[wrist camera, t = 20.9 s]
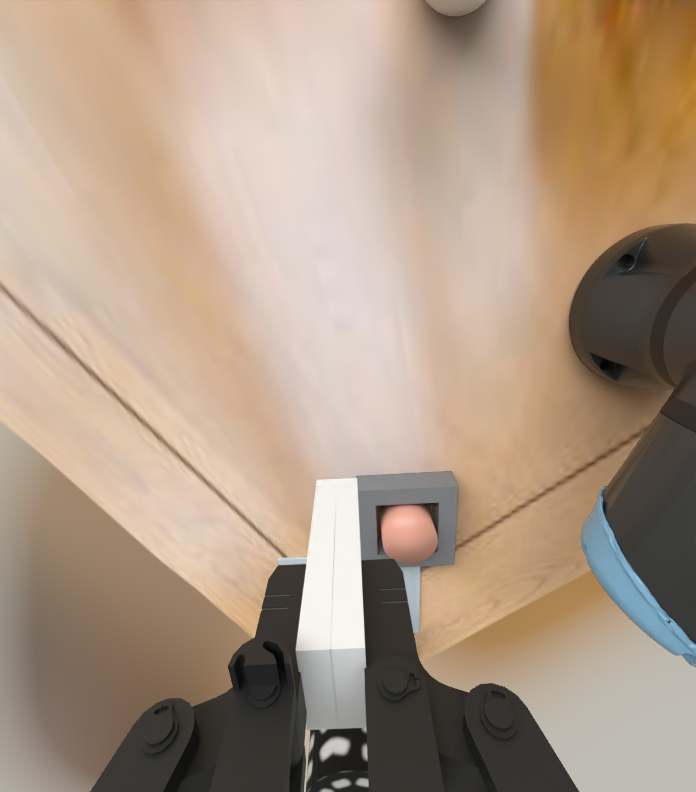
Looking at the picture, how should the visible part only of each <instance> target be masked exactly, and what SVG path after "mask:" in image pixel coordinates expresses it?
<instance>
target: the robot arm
mask: <svg viewBox="0 0 696 792" xmlns="http://www.w3.org/2000/svg"><path fill="white" fill-rule="evenodd" d="M569 327H570V336H571V341H572V344H573V347H574V349H575V351H576V353H577V355H578V357H579V358H580V360H581V361H582V362H583V363H584V364H585V365H586V366H587V367H588V368H589V369H590V370H592V371H593V372H595V373H596V374H598V375H600V376H602V377H604V378H606V379H608V380H610V381H612V382H614V383H617V384H620V385H624V386H628V387H635V388H651V389H670V390H674V391H673V392H672V394H671V396H670V397H669V399H668V400H667V402H666V403H665V405H664V406H663V407H662V409H661V410H660V411H659V413H658V414H657V416H656V417H655V419H654V420H653V421H652V423H651V424H650V426H649V427H648V429H647V430H646V432H645V433H644V434H643V436H642V437H641V439H640V440H639V442H638V443H637V444H636V446H635V447H634V449H633V450H632V452H631V453H630V455H629V456H628V457H627V459H626V460H625V462H624V463H623V465H622V466H621V467H620V469H619V470H618V472H617V473H616V475H615V476H614V478H613V479H612V480H611V482H610V483H609V485H608V486H604V487H603V489H602V490H601V491H600V493H599V495H598V501H597V503H596V505H595V506H594V508H593V510H592V511H591V513H590V515H589V516H588V518H587V520H586V521H585V523H584V525H583V528H582V532H581V543H582V547H583V551H584V553H585V555H586V559H587V562H588V564H589V566H590V568H591V570H592V572H593V574H594V575H595V577H596V578H597V580H598V581H599V583H600V584H601V586H602V587H603V588H604V590H605V591H606V592H607V594H608V595H609V596H610V597H611V599H612V600H613V601H614V602H615V603H616V604H617V605H618V607H619V608H620V609H621V610H622V611H623V612H624V613H625V614H626V615H627V616H628V617H629V618H630V619H631V620H632V621H633V622H634V623H635V624H636V625H637V626H638V627H639V628H640V629H641V630H643V631H644V632H645V633H646V634H647V635H648V636H649V637H651V638H652V639H653V640H654V641H656V642H657V643H658V644H660V645H661V646H662V647H664V648H665V649H667V650H668V651H669V652H671V653H672V654H674V655H682V656H683V657H684V658H685V660H686V661H687V662H688V663H689V664H690V665H692V666H694V667H696V224H688V223H687V224H668V225H659V226H653V227H649V228H646V229H643V230H640V231H637V232H635V233H633V234H631V235H629V236H627V237H625V238H623V239H621V240H620V241H618V242H617V243H615V244H614V245H613V246H611V247H610V248H609V249H608V250H606V251H605V252H604V253H603V254H602V255H601V256H600V257H599V258H598V259H597V260H596V261H595V262H594V264H593V265H592V266H591V267H590V269H589V270H588V271H587V273H586V274H585V276H584V277H583V279H582V281H581V283H580V285H579V287H578V289H577V291H576V294H575V296H574V299H573V302H572V306H571V311H570V321H569ZM228 669H229V672H230V677H231V681H232V685H233V687H232V688H231V689H230V690H228V691H227V692H226V693H224V694H222V695H220V696H218V697H216V698H214V699H211V700H209V701H206V702H204V703H201V704H198V705H196V706H193V707H191V705H190V703H188V702H186V701H185V700H183V699H181V698H169V699H166V700H164V701H161V702H158V703H156V704H155V705H153V706H152V707H151V708H149V709H148V710H147V711H145V712H144V713H143V714H142V715H141V717H140V718H139V719H138V720H137V721H136V723H135V724H134V725H133V727H132V728H131V730H130V731H129V733H128V734H127V736H126V737H125V739H124V740H123V742H122V743H121V745H120V747H119V748H118V750H117V751H116V753H115V754H114V756H113V757H112V759H111V760H110V762H109V764H108V765H107V767H106V768H105V770H104V772H103V773H102V775H101V776H100V777H99V779H98V780H97V782H96V784H95V785H94V787H93V788H92V790H91V791H90V792H304V781H305V768H306V756H305V746H304V740H305V728H306V723H307V729H308V730H320V729H344V728H366V732H367V757H368V783H369V792H579V791H578V789H577V788H576V786H575V784H574V783H573V781H572V779H571V778H570V776H569V774H568V773H567V771H566V770H565V768H564V767H563V765H562V763H561V761H560V760H559V758H558V757H557V755H556V753H555V752H554V750H553V749H552V747H551V745H550V744H549V742H548V740H547V739H546V737H545V736H544V734H543V732H542V731H541V729H540V728H539V726H538V724H537V723H536V721H535V719H534V718H533V716H532V715H531V713H530V711H529V710H528V708H527V707H526V706H525V704H524V703H523V702H522V701H521V700H520V698H519V697H518V696H517V695H516V694H514V693H513V692H511V691H510V690H508V689H507V688H505V687H503V686H499V685H496V684H492V683H490V684H480V685H478V686H477V687H475V688H473V689H472V690H471V691H470V692H469V693H468V692H465V691H462V690H459V689H455V688H452V687H449V686H447V685H444V684H442V683H440V682H438V681H437V680H435V679H434V678H433V677H431V676H430V675H429V674H428V673H427V671H426V670H425V669H424V668H423V666H422V664H421V662H420V661H419V657H418V654H417V650H416V644H415V638H414V633H413V627H412V621H411V615H410V610H409V604H408V598H407V592H406V587H405V581H404V575H403V571H402V570H401V568H400V567H399V565H398V564H397V563H396V561H395V560H394V559H376V560H362V559H361V539H360V521H359V503H358V486H357V478H346V479H327V480H317V484H316V492H315V500H314V508H313V516H312V524H311V532H310V540H309V548H308V556H307V564H293V565H278V567H277V568H276V569H275V571H274V572H273V574H272V575H271V576H270V578H269V580H268V584H267V588H266V592H265V598H264V601H263V605H262V611H261V614H260V618H259V622H258V627H257V631H256V635H255V638H253V639H251V640H250V641H248V642H246V643H245V644H243V645H242V646H241V647H240V648H239V649H238V650H237V651H236V652H235V654H234V655H233V657H232V659H231V661H230V663H229V665H228Z"/></svg>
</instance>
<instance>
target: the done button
mask: <svg viewBox="0 0 696 792" xmlns="http://www.w3.org/2000/svg"><path fill="white" fill-rule="evenodd" d="M379 518H380V526H381V534H382V542H383V548H384V551H385V553H386V554H387V555H388V556H389V557H390V558H391V559H394V560H395V561H397V562H400V563H405V564H412V563H418V562H421V561H423V560H425V559H427V558H428V557H430V556H431V555H432V554H433V552H434V551H435V549H436V547H437V544H438V537H437V533H436V530H435V527H434V524H433V521H432V517H431V514H430V511H429V508H428V506H427V504H426V503H418V504H398V505H383V506H382V508H381V510H380V514H379Z"/></svg>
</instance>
